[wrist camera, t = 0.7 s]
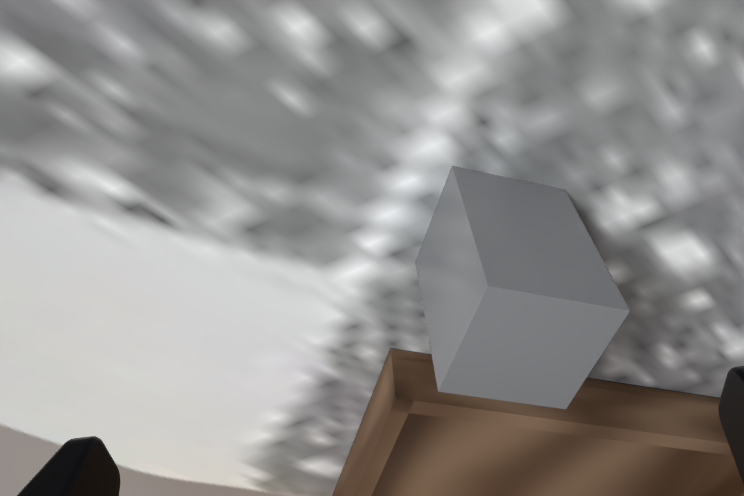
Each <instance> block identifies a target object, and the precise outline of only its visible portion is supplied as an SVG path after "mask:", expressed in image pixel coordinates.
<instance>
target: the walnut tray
mask: <svg viewBox="0 0 744 496" xmlns="http://www.w3.org/2000/svg"><path fill="white" fill-rule="evenodd" d="M719 401H720V398H715V397H709V396H702V395H696V394H689V393H682V392H676V391H669V390H662V389H656V388H649V387H642V386H636V385H629V384H623V383H616V382H609V381H603V380H596V379H589V378H586V379H585V381H584V382H583V384H582V385H581V387H580V388H579V390H578V391H577V393H576V395H575V396H574V398H573V399H572V401H571V402H570V404H569V405H568V407H567V408H566V409H560V408H553V407H546V406H538V405H531V404H524V403H517V402H510V401H503V400H495V399H488V398H481V397H474V396H467V395H460V394H452V393H445V392H438V388H437V382H436V377H435V371H434V365H433V360H432V355H430V354H423V353H417V352H410V351H403V350H397V349H390V351H389V353H388V356H387V358H386V361H385V363H384V366H383V368H382V371H381V374H380V376H379V379H378V381H377V384H376V386H375V389H374V391H373V394H372V396H371V399H370V402H369V404H368V407H367V409H366V412H365V414H364V417H363V419H362V422H361V424H360V427H359V430H358V432H357V435H356V437H355V440H354V442H353V445H352V447H351V450H350V452H349V455H348V458H347V460H346V463H345V465H344V468H343V470H342V473H341V475H340V478H339V480H338V483H337V486H336V488H335V491H334V493H333V496H744V485H743V482H742V480H741V477H740V474H739V472H738V469H737V466H736V463H735V461H734V458H733V455H732V452H731V450H730V447H729V444H728V441H727V439H726V436H725V433H724V430H723V428H722V425H721V422H720V418H719V412H718V406H719Z"/></svg>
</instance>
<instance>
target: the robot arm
mask: <svg viewBox="0 0 744 496" xmlns="http://www.w3.org/2000/svg"><path fill="white" fill-rule="evenodd" d="M718 412H719V418H720V422H721V425H722V428H723V430H724V433H725V436H726V439H727V441H728V444H729V447H730V450H731V452H732V455H733V458H734V461H735V463H736V466H737V469H738V472H739V474H740V477H741V480H742V482H743V485H744V366H740V367H734V368H732V369H731V370H730V371H729V372H728V374H727V377H726V381H725V384H724V388H723V391H722V395H721V398H720V401H719V406H718ZM119 490H120V474H119V470H118V468H117V466H116V464H115V462H114V460H113V459H112V457H111V455H110V454H109V452H108V450H107V448H106V447H105V445H104V443H103V442H102V440H101V439H99V438H98V437H95V436H92V437H82V438H74V439H71V440H69V441H67V442H66V443H65V444H64V445H63V446H62V447H61V448H60V449H59V450H58V451H57V452H56V453H55V454H54V456H53V457H52V458H51V459H50V460H49V461H48V462H47V463H46V464H45V465H44V466H43V468H42V469H41V470H40V471H39V472H38V473H37V474H36V475H35V476H34V477H33V478H32V480H31V481H30V482H29V483H28V484H27V485H26V486H25V487H24V488H23V489H22V490H21V492H20V493H19V494H18V495H17V496H119Z"/></svg>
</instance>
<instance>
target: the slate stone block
mask: <svg viewBox="0 0 744 496" xmlns="http://www.w3.org/2000/svg"><path fill="white" fill-rule="evenodd" d="M415 263H416V268H417V274H418V280H419V286H420V291H421V297H422V303H423V308H424V314H425V320H426V325H427V331H428V337H429V343H430V348H431V354H432V360H433V365H434V371H435V377H436V382H437V388H438V392H445V393H452V394H460V395H467V396H474V397H481V398H488V399H495V400H503V401H510V402H517V403H524V404H531V405H538V406H546V407H553V408H560V409H566V408H567V407H568V405H569V404H570V402H571V401H572V399H573V398H574V396H575V395H576V393H577V391H578V390H579V388H580V387H581V385H582V384H583V382H584V381H585V379H586V378H587V376H588V375H589V373H590V372H591V370H592V368H593V367H594V365H595V364H596V362H597V361H598V359H599V358H600V356H601V355H602V353H603V352H604V350H605V349H606V347H607V346H608V344H609V342H610V341H611V339H612V338H613V336H614V335H615V333H616V332H617V330H618V329H619V327H620V326H621V324H622V323H623V321H624V319H625V318H626V316H627V315H628V313H629V312H630V310H629V308H628V306H627V304H626V302H625V300H624V298H623V297H622V295H621V293H620V291H619V289H618V287H617V285H616V284H615V282H614V280H613V278H612V276H611V274H610V272H609V271H608V269H607V267H606V265H605V263H604V261H603V259H602V257H601V256H600V254H599V252H598V250H597V248H596V246H595V244H594V243H593V241H592V239H591V237H590V235H589V233H588V231H587V230H586V228H585V226H584V224H583V222H582V220H581V218H580V217H579V215H578V213H577V211H576V209H575V207H574V205H573V204H572V202H571V200H570V198H569V196H568V194H567V192H566V191H565V190H564V189H559V188H554V187H550V186H545V185H540V184H535V183H531V182H526V181H521V180H516V179H512V178H507V177H502V176H497V175H493V174H488V173H483V172H478V171H474V170H469V169H464V168H460V167H455V166H452V167H451V170H450V173H449V175H448V178H447V180H446V183H445V186H444V188H443V191H442V194H441V196H440V199H439V201H438V204H437V207H436V209H435V212H434V214H433V217H432V220H431V222H430V225H429V227H428V230H427V233H426V235H425V238H424V240H423V243H422V246H421V248H420V251H419V254H418V256H417V259H416V261H415Z"/></svg>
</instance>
